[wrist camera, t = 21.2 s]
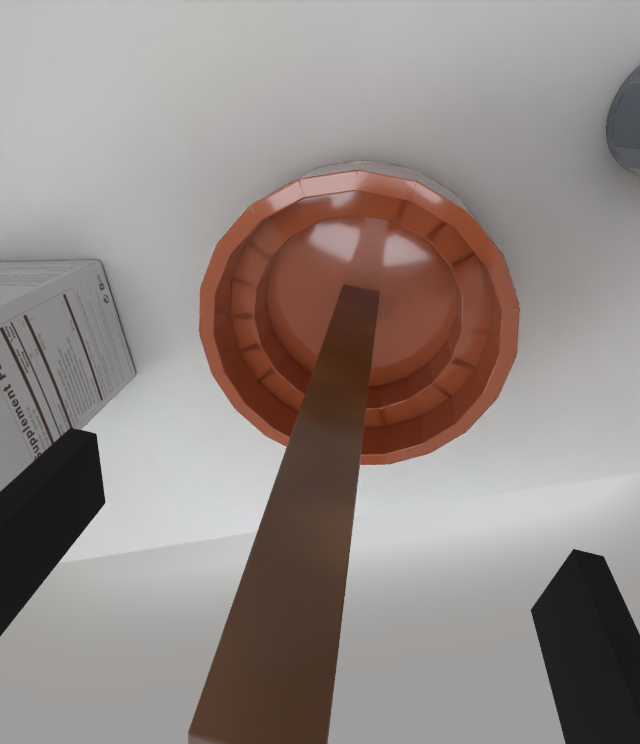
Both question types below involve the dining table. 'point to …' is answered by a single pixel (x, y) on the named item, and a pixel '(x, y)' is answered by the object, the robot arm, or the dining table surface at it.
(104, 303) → the rectangular carton
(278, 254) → the bowl
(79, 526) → the robot arm
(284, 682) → the stirring stick
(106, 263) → the dining table surface
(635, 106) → the gray pipe section
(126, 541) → the dining table surface
